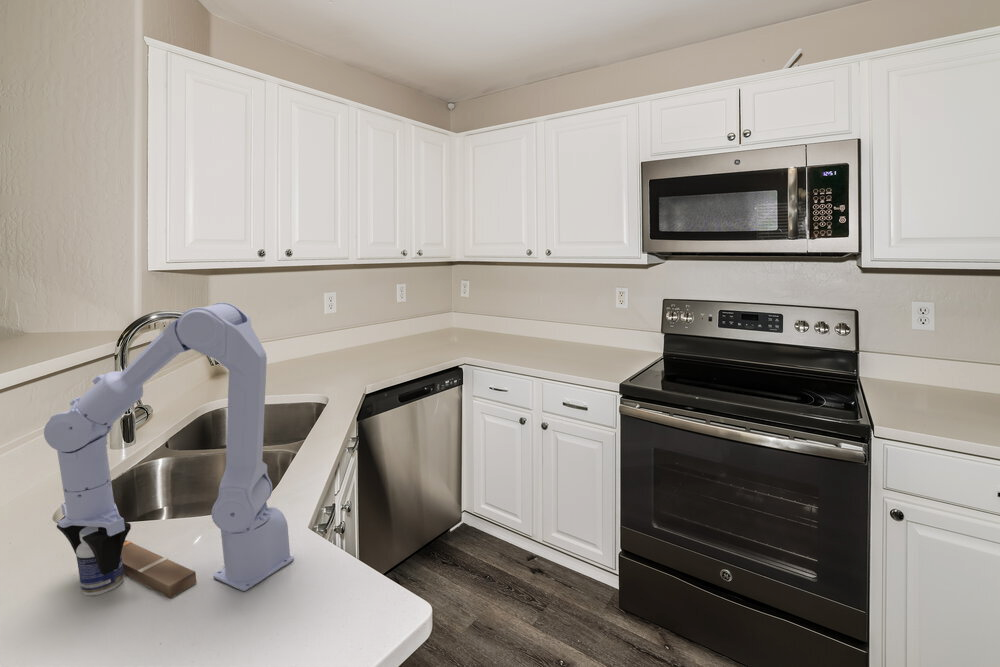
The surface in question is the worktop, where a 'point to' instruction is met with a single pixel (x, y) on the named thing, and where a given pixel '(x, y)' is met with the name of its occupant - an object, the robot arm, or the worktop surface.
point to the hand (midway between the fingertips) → (99, 565)
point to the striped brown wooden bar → (155, 570)
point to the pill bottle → (95, 569)
